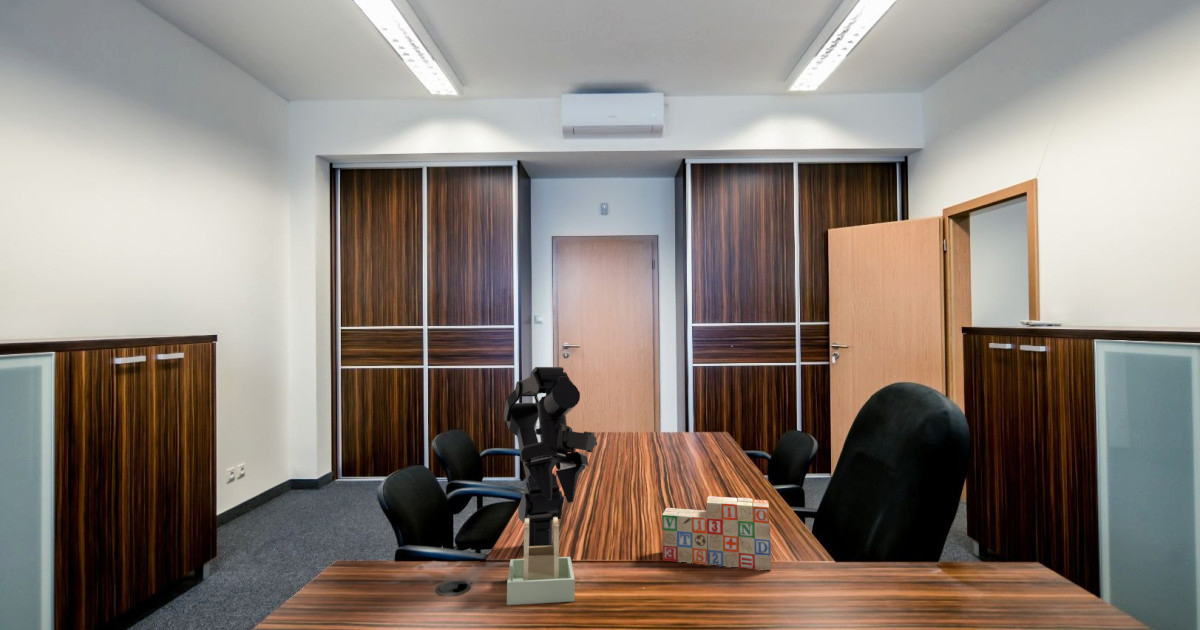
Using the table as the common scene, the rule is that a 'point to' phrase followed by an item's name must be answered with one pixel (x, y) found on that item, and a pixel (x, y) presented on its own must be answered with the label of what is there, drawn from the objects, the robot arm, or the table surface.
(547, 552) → the small magazine holder
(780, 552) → the table surface
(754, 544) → the stack of blocks
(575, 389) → the robot arm
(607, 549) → the table surface
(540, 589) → the box
